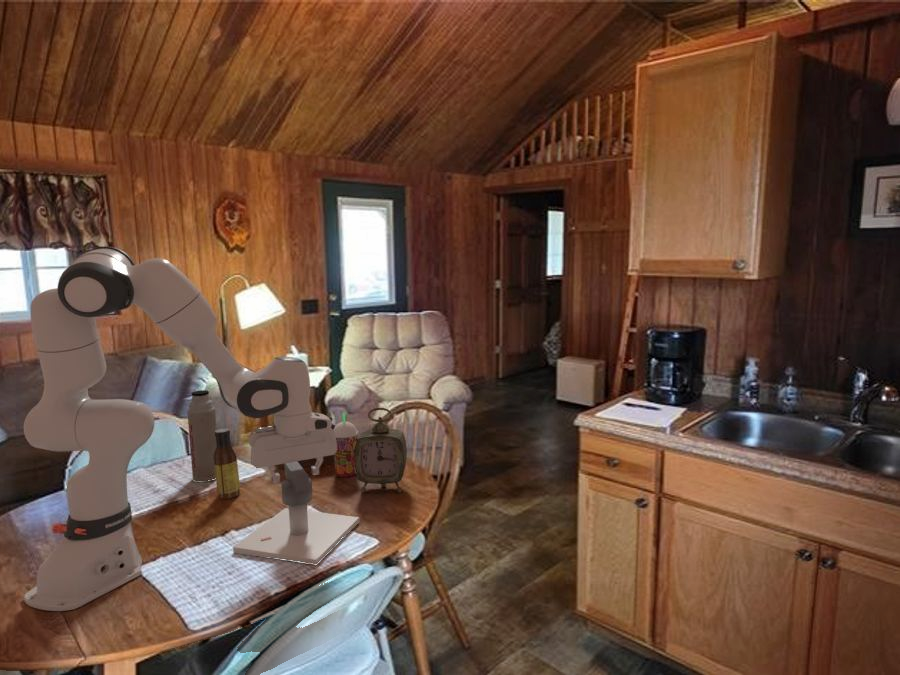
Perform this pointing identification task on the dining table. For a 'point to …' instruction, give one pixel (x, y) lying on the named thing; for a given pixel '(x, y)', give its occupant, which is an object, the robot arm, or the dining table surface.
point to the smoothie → (345, 448)
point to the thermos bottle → (202, 436)
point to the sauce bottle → (226, 466)
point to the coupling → (296, 485)
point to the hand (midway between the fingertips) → (296, 477)
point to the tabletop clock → (380, 454)
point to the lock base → (297, 535)
